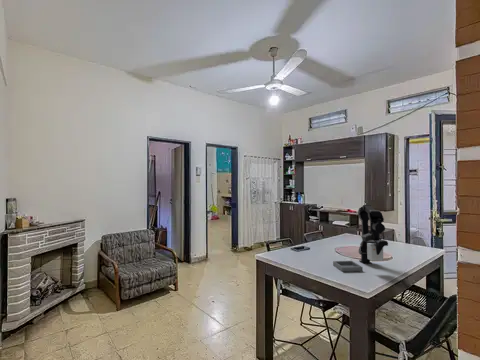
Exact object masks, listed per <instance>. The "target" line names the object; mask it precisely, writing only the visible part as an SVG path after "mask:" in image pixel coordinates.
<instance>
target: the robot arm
mask: <svg viewBox="0 0 480 360" xmlns="http://www.w3.org/2000/svg"><path fill="white" fill-rule="evenodd" d="M357 215H358V218H359V220H360V221H361V235H360V236H361V242H360V243H359V244H360V245H359V247H358V254H359V255H360V260H359V262H360V263H362V264H370V265H371V264H372V261H371V260H369V259H367V243H376V244H374V245H375V246H376V252H377V255H379V254H380V252H381V250H382V248H383V249H384V247H387V246H389V242H388V241H387V240H384V239H382V237H381V235H382V233H384V232H385V230H386V227H385V225H384V224H383V222H384V220H385V218H384V216H383V214H382V212H381V210H378V209H374V207H373V206H372V204H363V205H362V206H360V207H359V208H358V210H357ZM369 229H370V230H369Z"/></svg>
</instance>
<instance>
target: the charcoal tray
mask: <svg viewBox="0 0 480 360" xmlns="http://www.w3.org/2000/svg"><path fill="white" fill-rule="evenodd" d="M332 265H333V267H335V268H336V269H337V270H339V271H340V272H342V273H352V272H353V273H355V272H356V273H357V272H361V273H362V272H363V266H362V265H360V264H358V263H356V262H355V261H353V260H337V261H336V260H334V261H333V262H332Z"/></svg>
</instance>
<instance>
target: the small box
mask: <svg viewBox="0 0 480 360" xmlns="http://www.w3.org/2000/svg"><path fill="white" fill-rule="evenodd" d="M374 244H376V243H367V259H369V260H370V262H383V261H384V247H383V248H382V250H381V252H380V254H379V255H377V252H376V246H375V245H374Z"/></svg>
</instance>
